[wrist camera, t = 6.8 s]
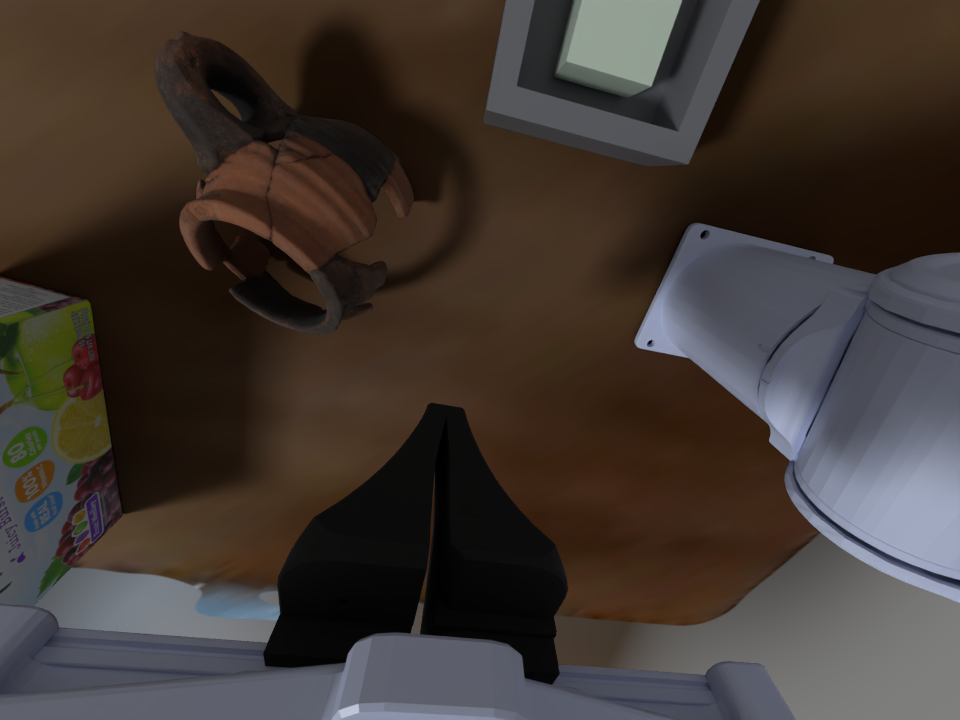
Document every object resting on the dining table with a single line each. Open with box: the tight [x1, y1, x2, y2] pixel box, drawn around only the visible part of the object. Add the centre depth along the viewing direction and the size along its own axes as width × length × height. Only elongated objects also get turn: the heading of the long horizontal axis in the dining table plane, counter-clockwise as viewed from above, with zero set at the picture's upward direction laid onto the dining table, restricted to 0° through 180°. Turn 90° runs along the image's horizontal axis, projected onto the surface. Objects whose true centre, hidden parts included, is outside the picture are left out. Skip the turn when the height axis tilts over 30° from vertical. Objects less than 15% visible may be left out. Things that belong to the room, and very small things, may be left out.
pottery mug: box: [154, 31, 414, 335], centre depth 17 cm, size 12×10×8 cm
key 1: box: [553, 0, 682, 98], centre depth 14 cm, size 4×4×2 cm
